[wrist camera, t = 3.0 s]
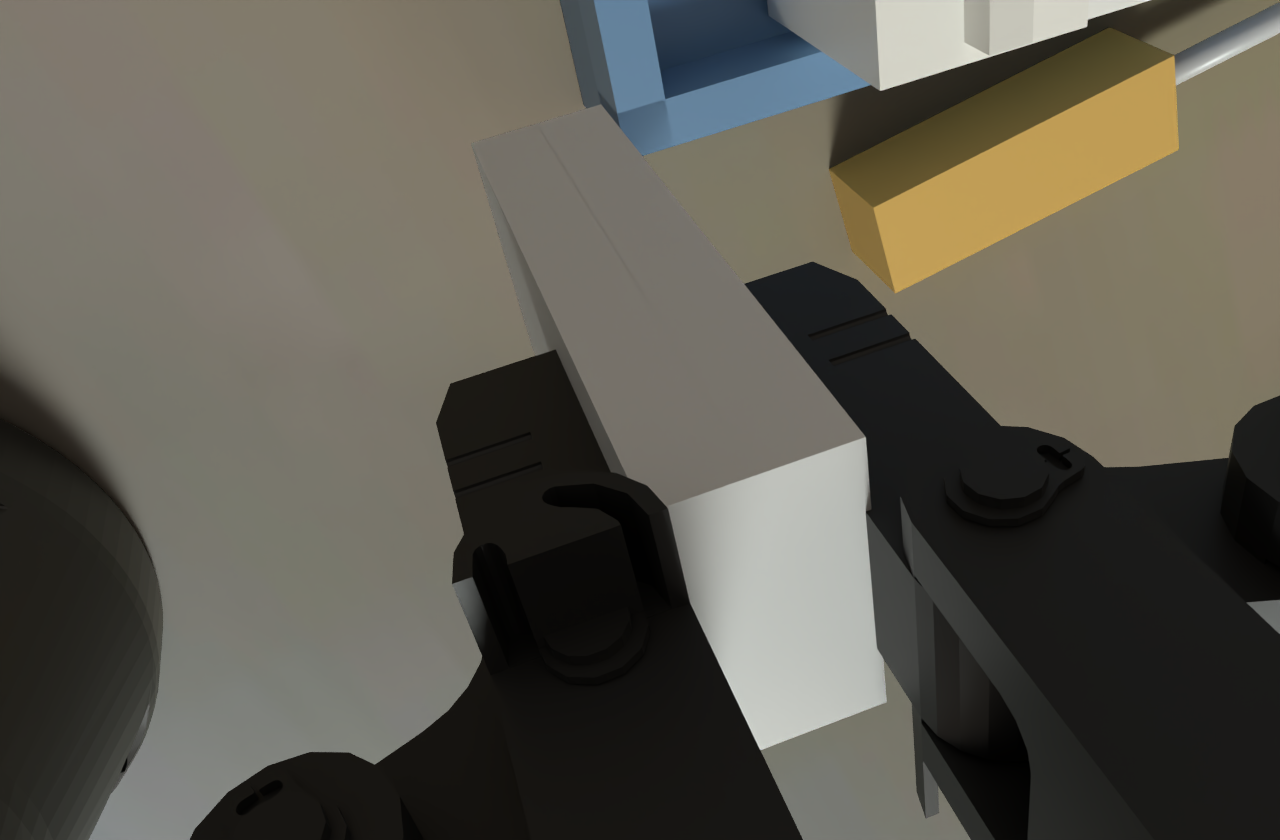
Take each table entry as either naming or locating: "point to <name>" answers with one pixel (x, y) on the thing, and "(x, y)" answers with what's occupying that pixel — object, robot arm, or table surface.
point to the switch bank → (701, 65)
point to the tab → (923, 31)
